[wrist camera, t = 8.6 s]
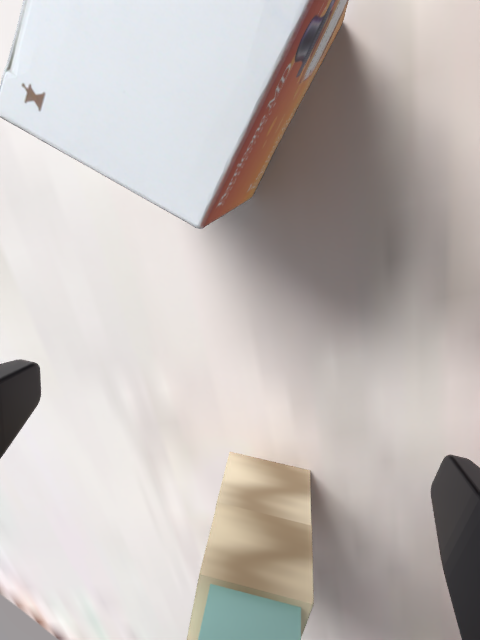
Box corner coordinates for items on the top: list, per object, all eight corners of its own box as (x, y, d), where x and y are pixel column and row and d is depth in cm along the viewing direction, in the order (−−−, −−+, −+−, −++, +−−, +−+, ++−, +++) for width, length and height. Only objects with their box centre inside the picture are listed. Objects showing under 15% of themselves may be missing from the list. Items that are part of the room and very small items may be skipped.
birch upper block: (311, 525, 21) (313, 603, 17) (291, 588, 23) (288, 671, 19) (217, 502, 21) (199, 574, 18) (204, 566, 23) (186, 643, 19)
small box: (251, 200, 19) (198, 242, 10) (147, 139, 19) (-17, 118, 9) (348, 17, 16) (417, -196, 6) (226, -60, 16) (102, -406, 6)
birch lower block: (310, 470, 25) (311, 525, 21) (292, 528, 26) (290, 588, 23) (229, 451, 25) (216, 502, 21) (218, 510, 27) (204, 566, 23)
